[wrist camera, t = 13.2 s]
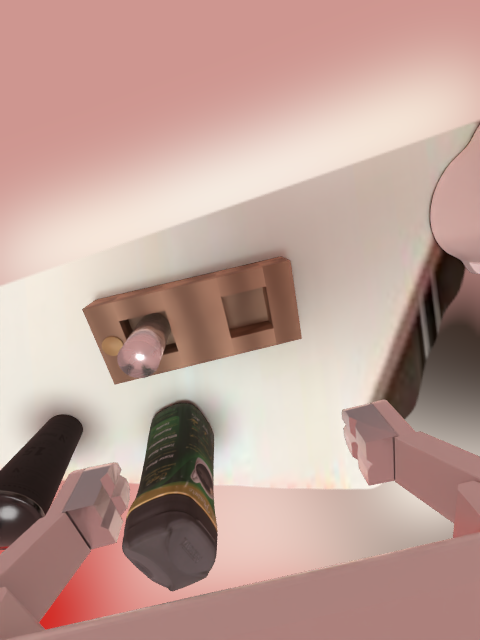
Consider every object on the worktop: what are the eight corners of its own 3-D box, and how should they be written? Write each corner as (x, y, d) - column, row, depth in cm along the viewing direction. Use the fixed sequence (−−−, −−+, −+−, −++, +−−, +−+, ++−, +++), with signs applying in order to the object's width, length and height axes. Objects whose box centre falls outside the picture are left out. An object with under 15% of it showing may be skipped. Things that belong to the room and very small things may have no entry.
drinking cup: (99, 444, 42) (15, 623, 23) (46, 453, 42) (-83, 644, 23) (84, 402, 40) (-25, 564, 21) (27, 411, 39) (-137, 586, 20)
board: (281, 256, 36) (291, 260, 32) (292, 327, 40) (302, 339, 35) (95, 299, 35) (81, 310, 31) (123, 368, 39) (114, 385, 35)
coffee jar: (143, 415, 41) (98, 556, 24) (191, 393, 41) (181, 519, 24) (176, 459, 45) (157, 611, 27) (220, 439, 44) (231, 579, 27)
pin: (165, 310, 36) (152, 337, 27) (174, 338, 37) (164, 372, 28) (134, 317, 35) (111, 346, 27) (144, 345, 37) (125, 381, 28)
